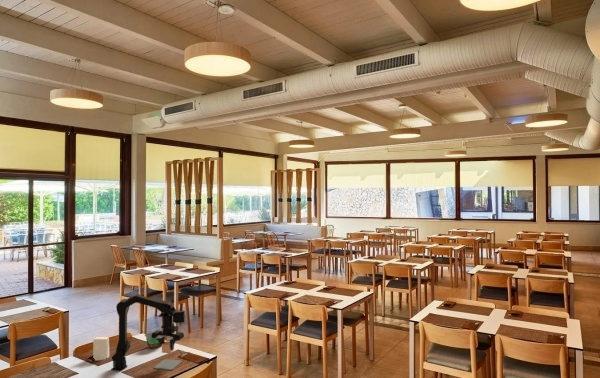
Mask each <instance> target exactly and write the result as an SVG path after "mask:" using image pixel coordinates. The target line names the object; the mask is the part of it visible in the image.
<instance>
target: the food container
mask: <svg viewBox="0 0 600 378" xmlns="http://www.w3.org/2000/svg"><path fill="white" fill-rule="evenodd" d="M161 331H162V332H163V330H161ZM153 332H154V331H152V332H149V333H147V332H145V334H144V336H145V340H146V347H147V348H148V349H150V350H155V349H159V348H162V346H161V345H160V343H159V342H158V340H156V339H157V338H151V335H152V333H153Z"/></svg>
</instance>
